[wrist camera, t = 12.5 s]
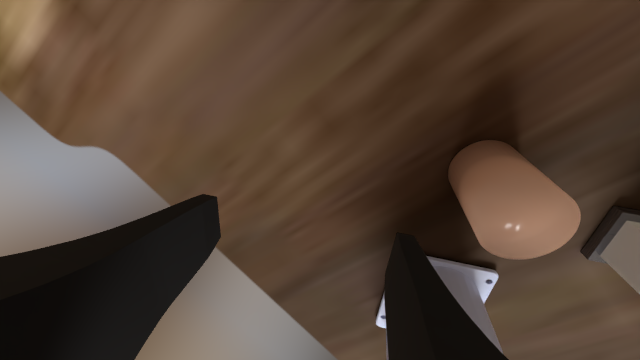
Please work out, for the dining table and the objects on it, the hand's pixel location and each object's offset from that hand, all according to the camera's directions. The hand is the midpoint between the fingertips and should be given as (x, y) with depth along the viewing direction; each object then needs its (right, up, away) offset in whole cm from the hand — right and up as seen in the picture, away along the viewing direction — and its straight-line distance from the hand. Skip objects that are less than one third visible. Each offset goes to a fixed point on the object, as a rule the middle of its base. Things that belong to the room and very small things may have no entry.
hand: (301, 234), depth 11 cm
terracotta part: (+12, +3, +8) cm, 14 cm away
